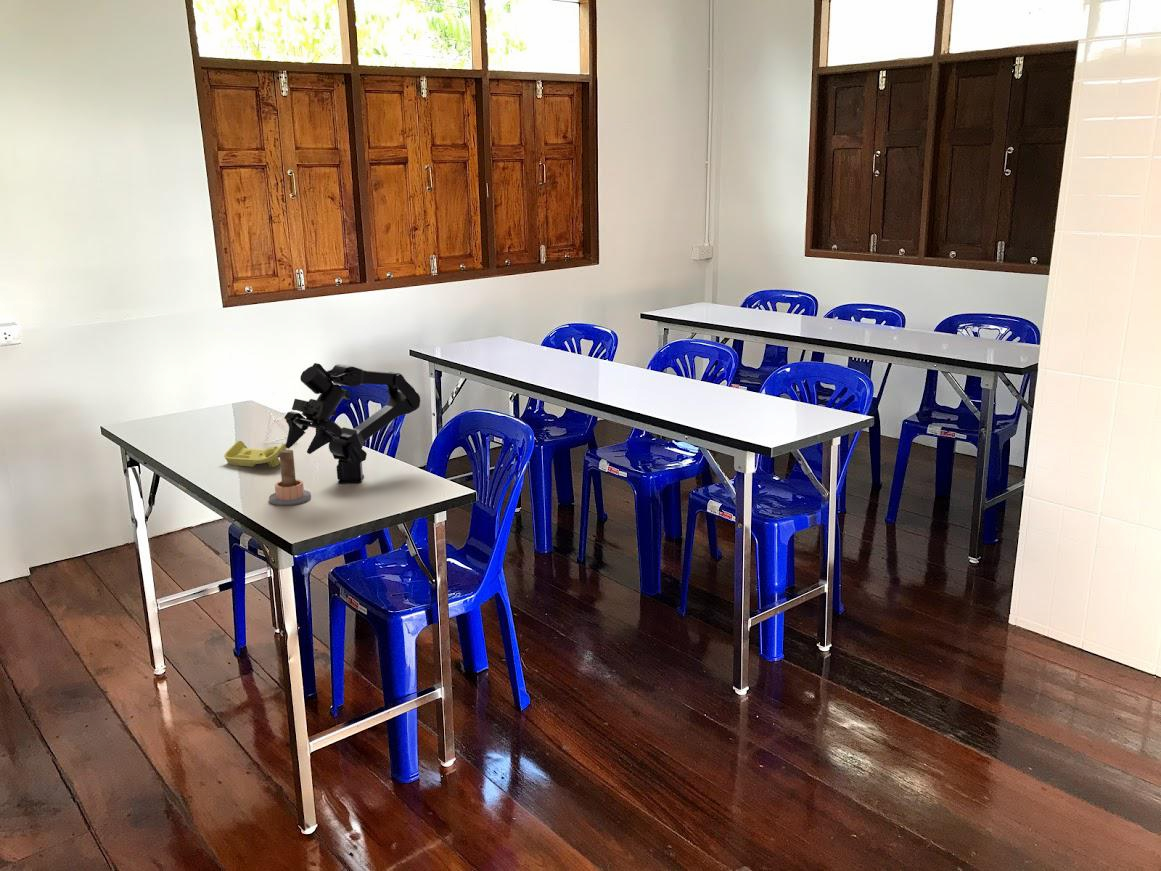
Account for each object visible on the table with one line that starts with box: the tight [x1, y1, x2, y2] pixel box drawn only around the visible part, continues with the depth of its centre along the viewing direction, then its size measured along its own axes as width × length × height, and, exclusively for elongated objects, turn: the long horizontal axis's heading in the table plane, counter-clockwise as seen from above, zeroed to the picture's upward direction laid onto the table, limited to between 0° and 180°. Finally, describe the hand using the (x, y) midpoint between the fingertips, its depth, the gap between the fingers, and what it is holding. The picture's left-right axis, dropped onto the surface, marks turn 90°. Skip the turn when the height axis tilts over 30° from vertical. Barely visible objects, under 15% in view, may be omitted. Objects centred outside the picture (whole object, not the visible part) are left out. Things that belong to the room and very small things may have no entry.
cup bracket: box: [268, 479, 312, 507], centre depth 263 cm, size 11×11×4 cm
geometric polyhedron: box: [264, 412, 303, 445], centre depth 322 cm, size 12×11×9 cm
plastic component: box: [223, 440, 288, 468], centre depth 297 cm, size 20×7×10 cm
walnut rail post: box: [279, 449, 297, 487], centre depth 262 cm, size 4×4×12 cm
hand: (297, 450), depth 264 cm, fingers open, 9 cm apart
